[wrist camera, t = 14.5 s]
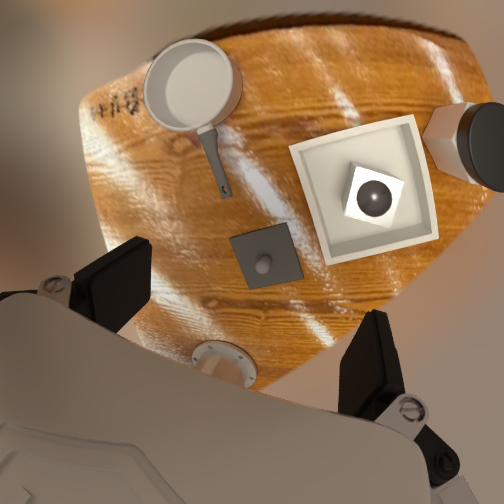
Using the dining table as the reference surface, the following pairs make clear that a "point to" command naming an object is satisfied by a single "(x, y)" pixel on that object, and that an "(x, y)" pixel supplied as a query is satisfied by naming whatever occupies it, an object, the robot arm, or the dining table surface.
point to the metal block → (371, 194)
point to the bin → (374, 155)
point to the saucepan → (194, 94)
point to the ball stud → (267, 256)
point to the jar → (469, 142)
